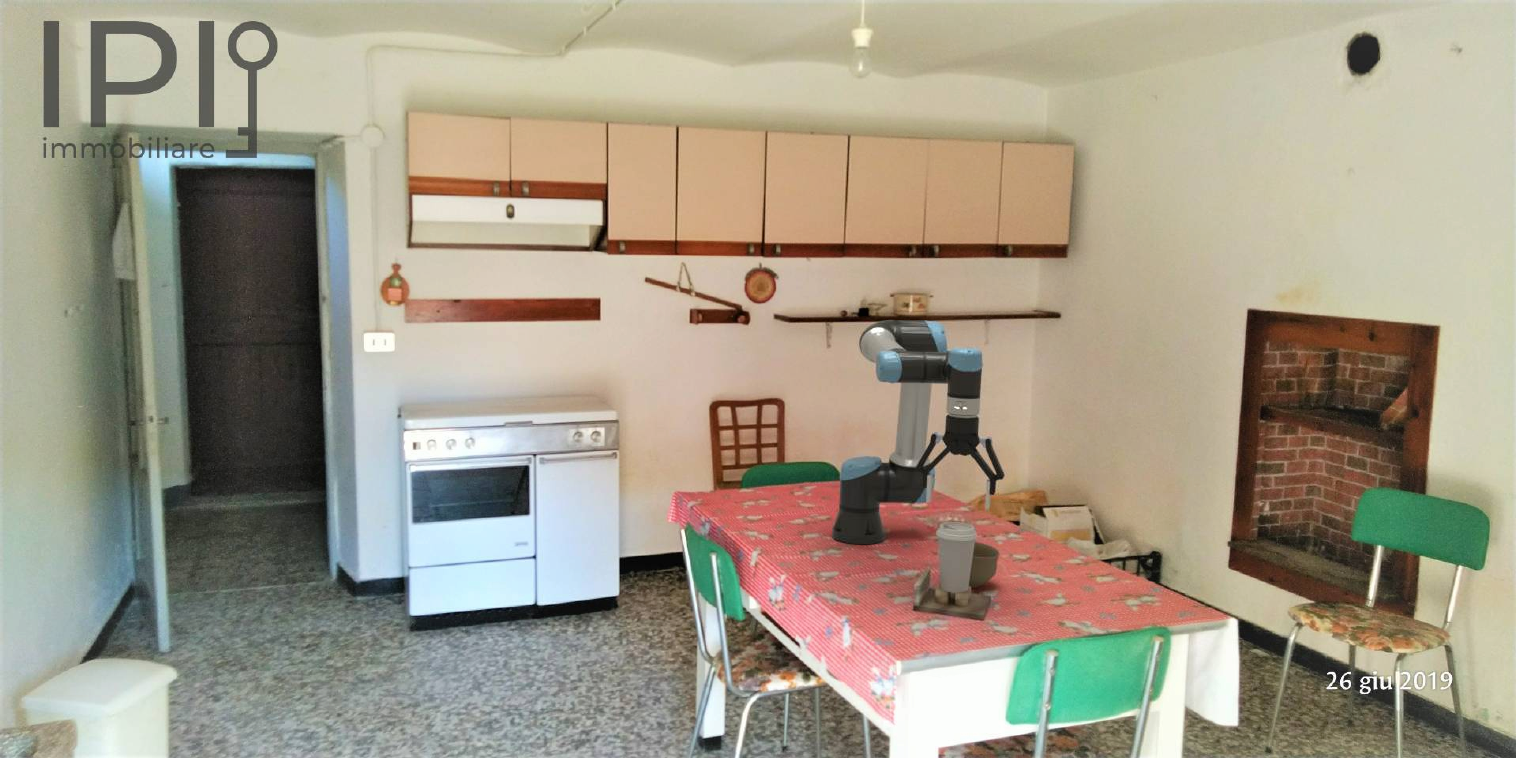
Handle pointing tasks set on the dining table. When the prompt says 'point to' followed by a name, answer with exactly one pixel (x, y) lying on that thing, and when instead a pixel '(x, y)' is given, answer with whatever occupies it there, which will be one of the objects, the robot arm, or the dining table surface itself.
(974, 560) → the bowl
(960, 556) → the coffee cup
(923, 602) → the peg stand
